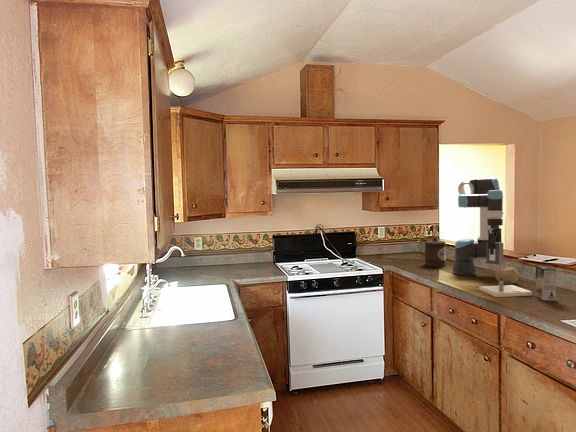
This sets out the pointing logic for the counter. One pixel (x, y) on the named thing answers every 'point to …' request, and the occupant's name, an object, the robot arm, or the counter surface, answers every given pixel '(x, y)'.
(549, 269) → the coffee box
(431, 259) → the wooden container
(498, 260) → the grey block with stripe
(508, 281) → the low-poly potato
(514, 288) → the panel
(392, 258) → the counter surface
